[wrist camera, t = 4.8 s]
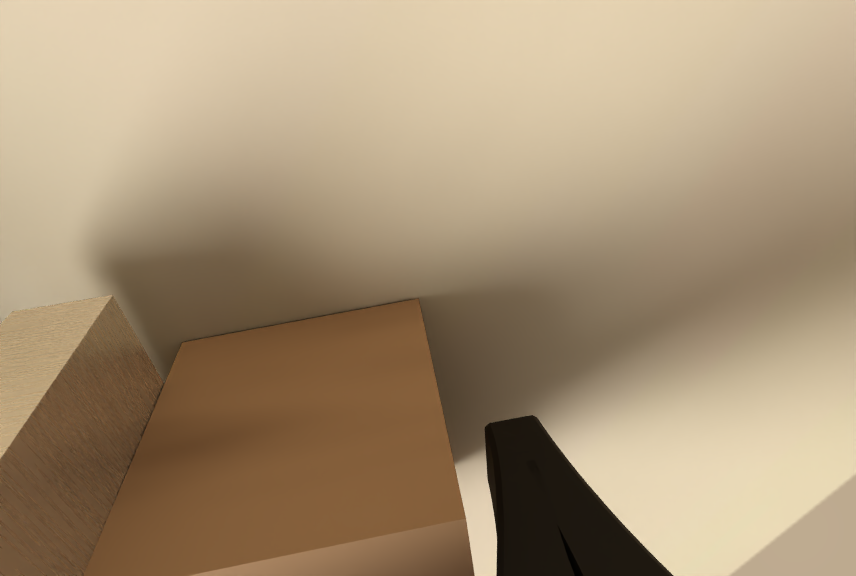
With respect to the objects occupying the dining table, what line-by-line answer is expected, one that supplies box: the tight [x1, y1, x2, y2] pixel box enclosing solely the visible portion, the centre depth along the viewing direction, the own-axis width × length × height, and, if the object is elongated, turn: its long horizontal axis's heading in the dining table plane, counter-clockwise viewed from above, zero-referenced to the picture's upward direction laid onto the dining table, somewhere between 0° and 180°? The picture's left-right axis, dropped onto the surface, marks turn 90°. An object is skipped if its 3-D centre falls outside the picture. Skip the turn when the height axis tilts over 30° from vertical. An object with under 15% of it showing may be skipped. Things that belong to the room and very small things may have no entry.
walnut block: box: [83, 299, 474, 576], centre depth 10 cm, size 6×5×5 cm
